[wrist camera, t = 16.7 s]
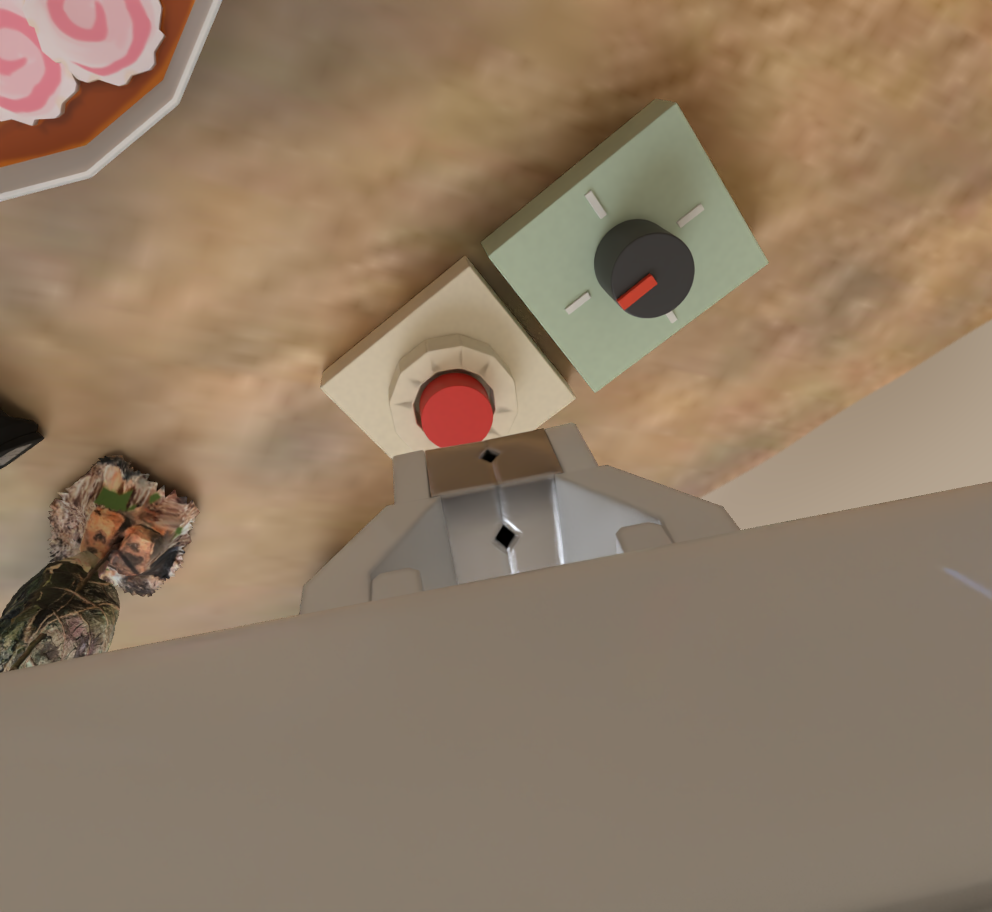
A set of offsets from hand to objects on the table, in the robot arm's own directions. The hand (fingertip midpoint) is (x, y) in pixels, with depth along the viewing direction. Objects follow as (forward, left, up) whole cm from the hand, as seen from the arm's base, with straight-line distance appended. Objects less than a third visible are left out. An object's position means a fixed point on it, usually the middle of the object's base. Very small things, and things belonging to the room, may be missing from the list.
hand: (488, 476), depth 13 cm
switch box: (+5, +9, -29) cm, 31 cm away
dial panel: (-7, +9, -29) cm, 31 cm away
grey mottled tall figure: (+26, +4, -29) cm, 39 cm away
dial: (-7, +9, -26) cm, 28 cm away
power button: (+5, +9, -26) cm, 27 cm away
